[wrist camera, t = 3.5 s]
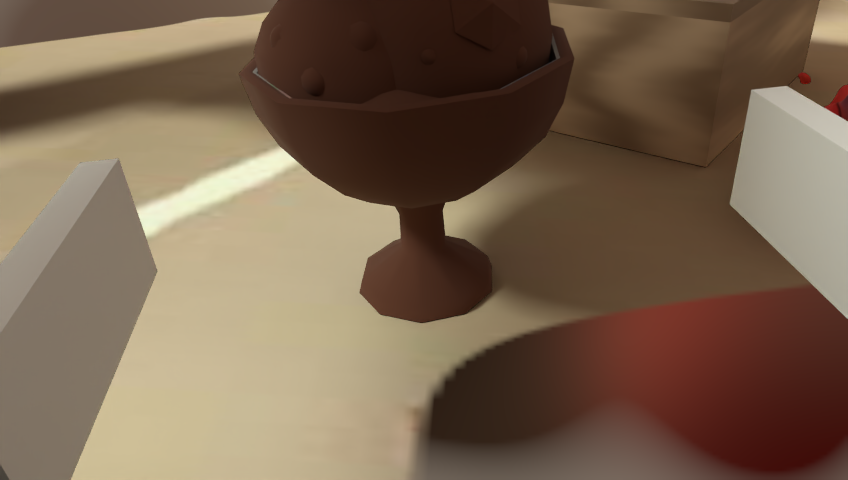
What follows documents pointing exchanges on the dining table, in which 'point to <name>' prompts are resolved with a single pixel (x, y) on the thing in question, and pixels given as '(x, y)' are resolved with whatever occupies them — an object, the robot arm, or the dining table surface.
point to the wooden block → (675, 69)
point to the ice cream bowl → (411, 120)
